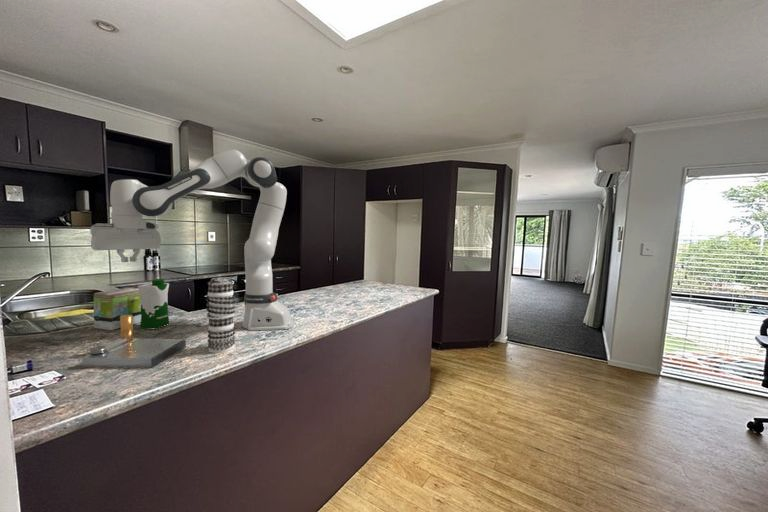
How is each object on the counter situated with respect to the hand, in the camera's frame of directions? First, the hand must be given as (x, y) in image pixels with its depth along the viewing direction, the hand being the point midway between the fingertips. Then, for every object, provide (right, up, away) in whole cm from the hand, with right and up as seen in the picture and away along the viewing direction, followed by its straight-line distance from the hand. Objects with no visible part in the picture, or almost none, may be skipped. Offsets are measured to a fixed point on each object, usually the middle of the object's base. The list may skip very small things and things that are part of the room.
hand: (129, 261), depth 113 cm
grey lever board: (+14, -31, -13) cm, 36 cm away
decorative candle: (+36, -31, -4) cm, 48 cm away
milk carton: (-3, -28, +17) cm, 33 cm away
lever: (+7, -27, -14) cm, 31 cm away
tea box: (-18, -28, +19) cm, 38 cm away
